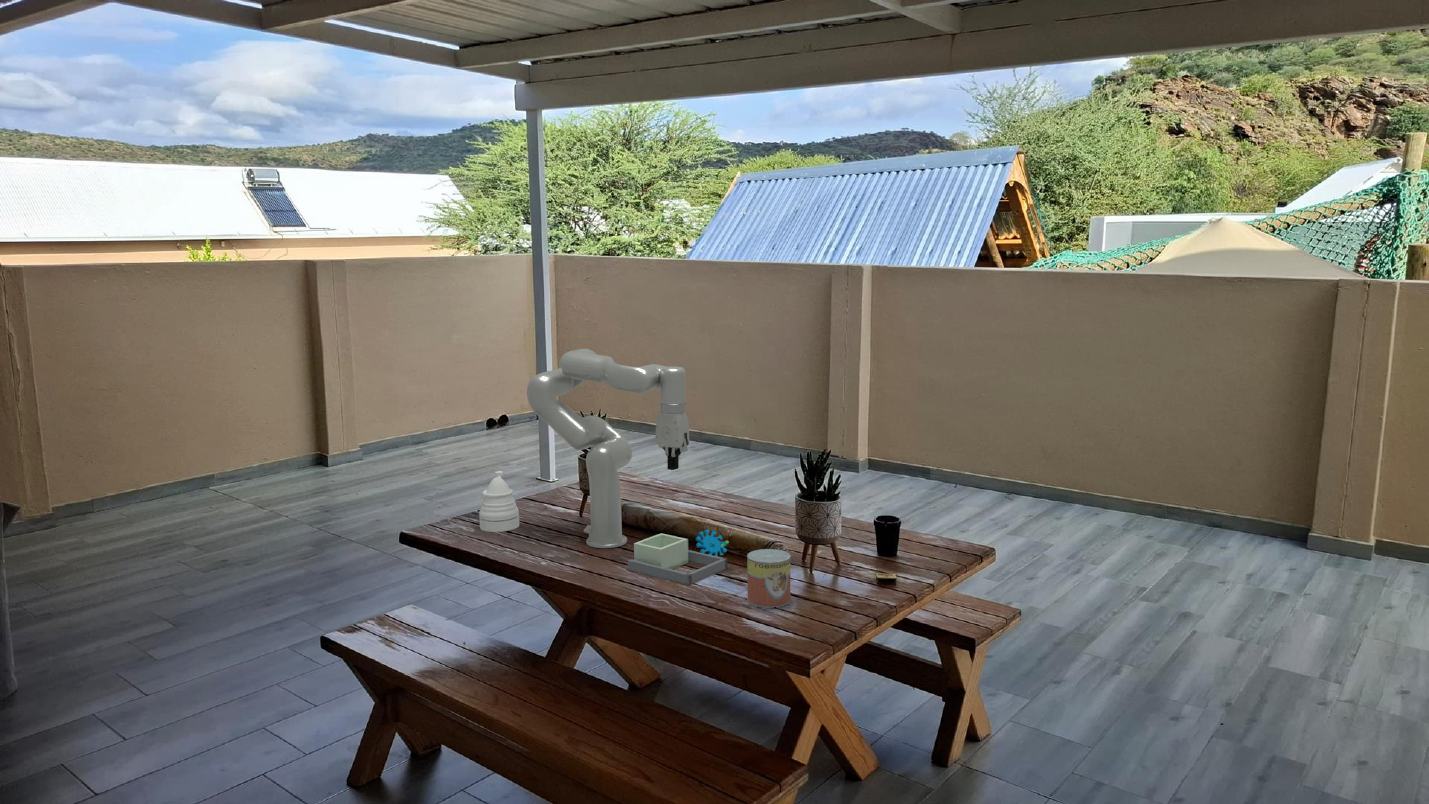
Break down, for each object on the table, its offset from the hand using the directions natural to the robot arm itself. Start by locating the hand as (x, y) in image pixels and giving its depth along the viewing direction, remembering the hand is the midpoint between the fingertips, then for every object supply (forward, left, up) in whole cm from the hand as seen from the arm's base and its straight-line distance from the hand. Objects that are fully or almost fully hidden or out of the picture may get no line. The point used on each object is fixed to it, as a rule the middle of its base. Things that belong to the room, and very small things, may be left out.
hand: (673, 468), depth 293 cm
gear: (+13, +2, -26) cm, 29 cm away
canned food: (+47, -18, -26) cm, 56 cm away
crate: (+8, -15, -24) cm, 30 cm away
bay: (+14, -15, -25) cm, 33 cm away
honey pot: (-64, -13, -26) cm, 70 cm away
